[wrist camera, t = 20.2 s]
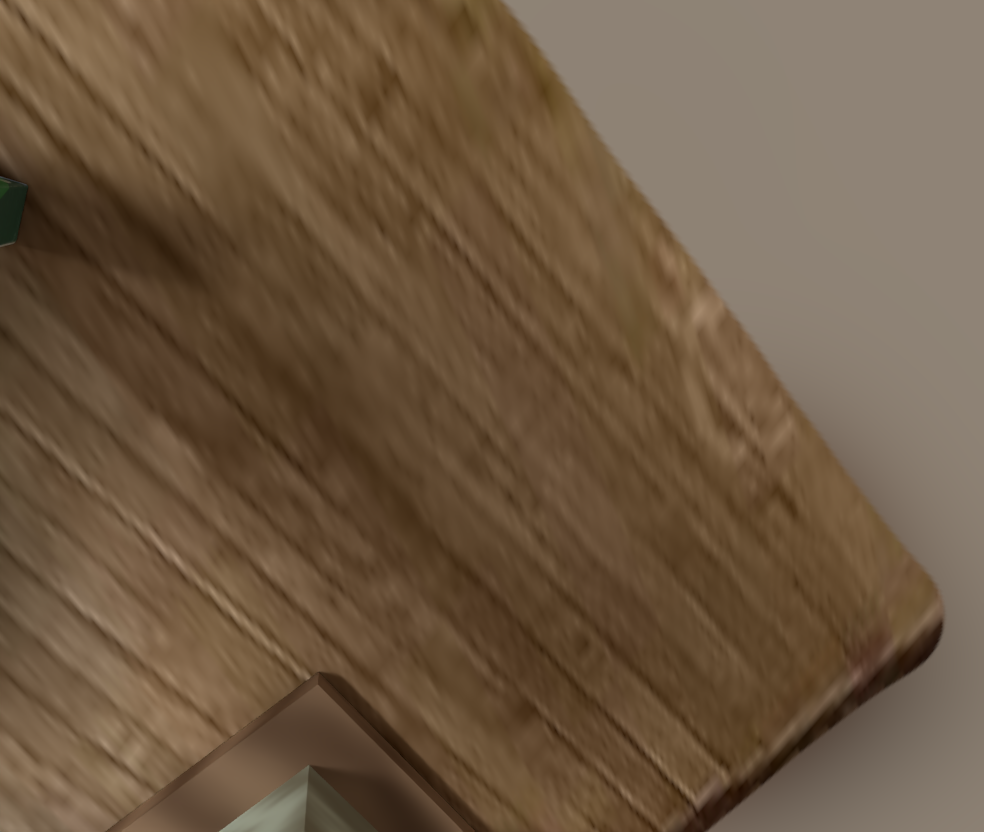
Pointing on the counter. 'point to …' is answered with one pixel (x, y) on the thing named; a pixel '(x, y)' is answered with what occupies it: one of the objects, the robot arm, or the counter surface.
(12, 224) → the crayon box
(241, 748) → the tower base
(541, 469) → the counter surface
